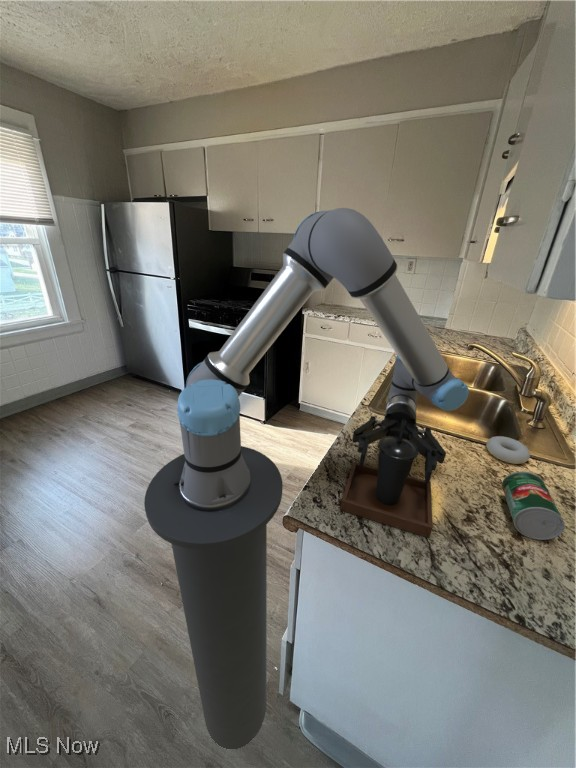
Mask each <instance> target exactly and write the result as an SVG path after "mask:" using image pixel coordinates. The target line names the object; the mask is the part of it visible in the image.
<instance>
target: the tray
mask: <svg viewBox="0 0 576 768" xmlns="http://www.w3.org/2000/svg"><path fill="white" fill-rule="evenodd" d="M359 464H360V462H356V461H353V463H352V466H351V469H350V472H349V476H348V478H347V482H346V486H345V489H344V493H343V495H342V499H341V504H340V511H341V512H345V513H348V514H351V515H355V516H357V517H361V518H365V519H368V520H371V521H374V522H377V523H380V524H382V525H383V524H384V525H386V526H390V527H393V528H396V529H400V530H402V531H406V532H409V533H413V534H415V535H419V536H422V537H425V538H428V539H430V537H431V535H432V532H433V531H432V530H433V506H432V505H433V504H432V503H433V502H432V481H431V480H430V482H429V483H425V479H424V478H419V477H414V476H410V475H408V477H407V480H406V482H405V485H404V488H403V490H402V493H401V496H400V498H399V501H398V503H397V504H396V505H393V506H389V505H385V504H383V503H381V502H380V501H379V500H378V499H377V497H376V487H377V474H378V467H376V466H373V465H368V464H365V463H364V464H363V466H360V465H359Z"/></svg>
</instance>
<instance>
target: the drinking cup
mask: <svg viewBox="0 0 576 768" xmlns="http://www.w3.org/2000/svg"><path fill="white" fill-rule="evenodd" d="M405 423H406V420H405V419H402V424H401V428H400V433H399V437H397V436H387V437H384V438H382V439H380V440H378V451H379V452H378V461H377V462H378V464H377V468H378V474H377V487H376V497H377V499H378V500H379V501H380V502H381V503H383V504H385V505H389V506H393V505H396V504H397V503H398V501H399V498H400V496H401V493H402V490H403V488H404V485H405V482H406V480H407V477H408V476H410V472H411V469H412V467H413V464H414V461H415V459H416V458H417V457H418V455H419V452H418V449H417V447H416V446H415V445H414V444H413V443H412V442H411V441H409V440H407V439H405V438H402V436H403V432H404V427H405Z"/></svg>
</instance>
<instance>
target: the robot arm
mask: <svg viewBox="0 0 576 768" xmlns="http://www.w3.org/2000/svg"><path fill="white" fill-rule="evenodd" d="M398 267H399V265H398V264H397V262H396V260H395V258H394V257H393V255H392V253H391V251H390V250H389V248H388V246H387V244H386V243H385V241H384V240H383V238H382V236H381V234H380V233H379V232H378V230H377V228H376V227H375V226H374V225H373V223H372V222H371V221H370V220H369V219H368V218H367V217H366V216H365V215H364V214H363V213H361V212H359V211H357V210H356V209H353V208H348V207H338V208H334V209H330V210H321V211H316V212H314V213H313V212H312V213H311V214H310V215H308V216H307V217H305V218H304V219H303V220H302V221H301V222H300V223H299V225H298V226H297V228H296V230H295V232H294V235H293V238H292V240H291V242H290V243H289V245H288V246H287V247H286V249H285V250H284V252H283V253H282V266H281V268H280V269H279V271H278V272H277V273H276V274H275V276H274V277H273V278H272V280H271V281H270V283H268V285H267V286H266V288H265V289H264V290H263V292H262V293H261V295H260V296H259V297H258V299H257V300H256V301H255V302H254V304H253V305H252V307H251V308H250V309H249V311H248V312H247V313H246V315H244V317H243V319H242V320H241V321H240V323H239V324H238V325H237V326H236V327H235V329H234V331H233V332H232V333H231V335H230V336H229V337H228V338H227V340H226V341H225V343H223V345H222V347H221V348H220V349H219V350H218V351H211V352H209V353H208V354H207V356H206V357H205V358H204V359H203V361H201V362H199V363H197V364H196V365H195V366H194V367H193V369H192V370H191V371H190V372H189V374H188V376H187V378H186V381H185V388H183V389H182V391H181V392H180V394H179V396H178V398H177V407H176V411H177V412H176V413H177V418H178V421H179V426H180V434H181V441H182V447H183V454H184V455H185V464H184V468H183V472H182V476H181V479H179V480H177V481H174V485H178V484H180V492H181V497H182V499H183V501H184V502H185V503H186V504H187V505H188V506H190V507H192V508H194V509H196V510H200V511H207V512H213V511H220V510H224V509H227V508H229V507H232V506H234V505H235V504H237V503H238V502H240V501H241V500H242V499H243V498H244V497H245V496H246V495H247V493H248V491H249V489H250V485H251V478H250V471H249V469H248V467H247V465H246V464H245V461H244V459H243V456H242V454H241V446H242V441H241V439H242V438H241V437H242V436H241V417H240V414H241V413H240V412H241V401H240V396H241V395H242V394H243V392H244V391H245V390H246V389H247V387H248V386H249V384H250V373H251V372H252V370H253V369H254V368H255V366H256V365H257V364H258V363H259V361H260V360H261V359H262V358H263V357H264V355H266V352H267V351H268V350H269V349H270V348H271V346H272V345H273V344H274V343H275V342H276V340H277V339H278V337H279V336H280V335H281V334H282V332H283V331H284V330H285V329H286V328H287V326H288V325H289V323H291V321H292V320H293V318H294V317H295V316H296V315H297V313H299V311H300V310H301V308H302V307H303V306H304V304H306V302H307V301H308V300H309V298H310V297H311V296H312V295H313V293H314V292H318V291H325V289H326V288H327V287H328V285H329V284H330V283H331V282H332V281H333V280H334V279H335V280H337V281H338V282H339V284H341V286H342V287H344V289H345V290H346V291H347V293H348V294H349V295H350V297H351V298H353V299H356V300H357V299H358V300H360V302H361V303H362V305H363V306H364V307H365V309H366V311H367V312H368V314H369V315H370V317H371V318H372V320H373V321H374V322H375V324H376V325H377V327H378V329H379V330H380V332H381V333H382V334H383V335H384V337H385V339H386V340H387V341H388V343H389V345H390V346H391V348H393V350H394V352H395V354H396V357H395V361H394V367H393V373H392V379H391V383H390V387H389V392H388V398H387V402H386V407H385V413H384V417H383V419H382V420H380V419H379V420H378V419H377V417H376V416H375V415H371V416H370V418H369V420H368V421H366V422H365V423H363V424H362V425H360V426H359V427H357V428H356V429H355V430H353V432H352V439H351V441H352V443H355V444H356V443H358V445H357V449H356V451H357V452H358V453H360V458H359V463H360V464H359V465H360V466H363V464H365V460H366V456H367V452H368V449H369V445H370V444H372V443H375V442H377V441H380V440H381V439H382V438H384V437H387V436H397V437H399V433H400V428H401V424H402V419H405V420H406V423H405V427H404V432H403V436H402V438H405V439H407V440H409V441H411V442H412V443H413V444H414V445H415V446H416V447H417V449H418V454H420V455H421V456H422V457H423V458H424V480H425V483H429V482H430V481H431V478H432V474H433V472H435V471H436V469H437V466H438V463H439V464H444V462H445V459H446V455H447V451H445V448H443V446H442V445H441V444H440V443H439V441H438V439H436V438H435V436H434V435H433V434H432V429H431V428H430V427H425V428H424V429H420V428H419V427H418V426H417V405H418V398H419V394H420V395H422V396H423V397H424V398H426V400H428V401H429V402H430V403H431V404H432V405H433V406H436V407H438V408H439V409H440V410H441V411H445V412H453V411H455V410H457V409H459V408H460V407H462V406H463V405H464V404H465V403H466V401H467V400H468V397H469V394H470V392H469V391H470V390H469V387H468V385H467V384H466V383H465V382H464V381H462V379H461V378H459V377H456V376H455V375H454V374H453V372H452V370H451V369H450V367H449V365H448V364H447V363H446V361H445V358H444V357H443V356H442V354H441V352H440V350H439V349H438V347H437V345H436V343H435V341H434V339H433V338H432V336H431V334H430V333H429V331H428V329H427V327H426V326H425V324H424V322H423V320H422V319H421V316H420V314H419V313H418V311H417V310H416V308H415V306H414V305H413V303H412V300H411V299H410V297H409V295H408V294H407V292H406V290H405V288H404V287H403V285H402V283H401V281H400V280H399V278H398V276H397V271H398V269H399V268H398Z"/></svg>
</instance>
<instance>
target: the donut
mask: <svg viewBox="0 0 576 768" xmlns="http://www.w3.org/2000/svg"><path fill="white" fill-rule="evenodd" d="M485 446H486V449H487V451H488V452H489V454H491V456H493V457H495V458H496V459H497V460H499V461H502V462H505V463H507V464H514V465H520V464H524V463H526V462H528V461H529V460H530V459H531V452H530V450H529V449H528V447H527V446H526V445H525V444H524V443H522V442H520V441H518V440H517V439H514V438H511V437H508V436H502V435H496V436H491V437H490V438H489V439H488V440H487V441H486V445H485Z"/></svg>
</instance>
